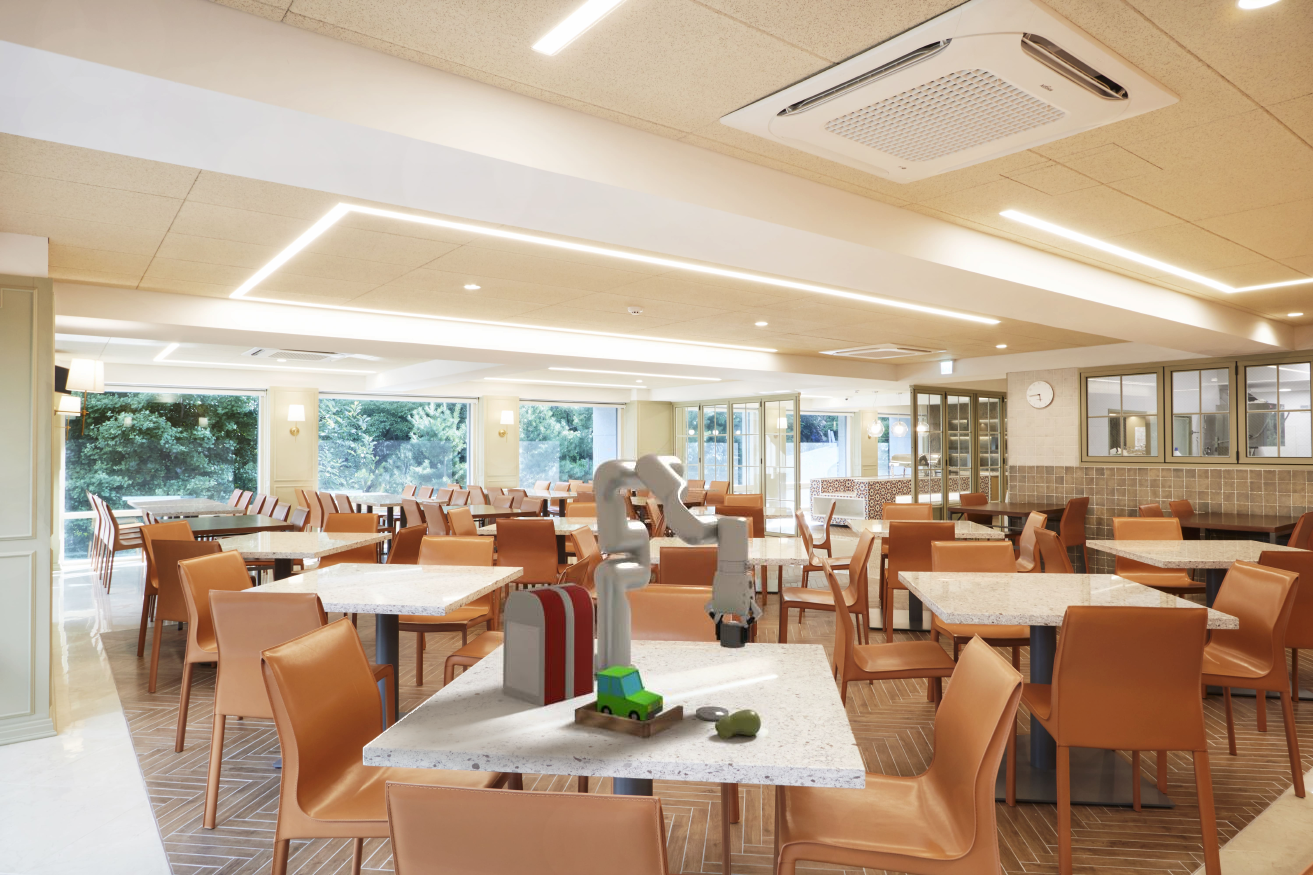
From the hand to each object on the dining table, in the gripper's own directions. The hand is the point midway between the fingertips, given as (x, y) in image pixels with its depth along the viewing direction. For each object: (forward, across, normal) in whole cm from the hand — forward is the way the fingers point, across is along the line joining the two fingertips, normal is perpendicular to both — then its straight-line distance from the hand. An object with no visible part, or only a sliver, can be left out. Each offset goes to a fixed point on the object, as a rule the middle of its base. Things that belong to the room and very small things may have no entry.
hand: (732, 640), depth 188 cm
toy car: (+16, +16, +21) cm, 31 cm away
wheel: (+1, 0, 0) cm, 1 cm away
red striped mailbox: (+16, +44, +17) cm, 49 cm away
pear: (+16, -11, +20) cm, 27 cm away
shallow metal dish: (+15, 0, +11) cm, 19 cm away
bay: (+15, +14, +24) cm, 32 cm away
